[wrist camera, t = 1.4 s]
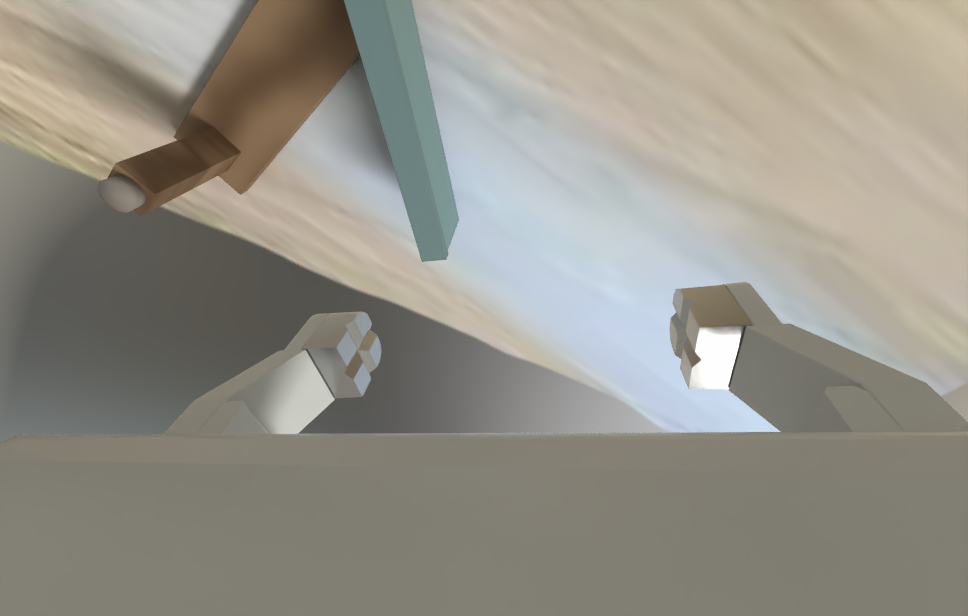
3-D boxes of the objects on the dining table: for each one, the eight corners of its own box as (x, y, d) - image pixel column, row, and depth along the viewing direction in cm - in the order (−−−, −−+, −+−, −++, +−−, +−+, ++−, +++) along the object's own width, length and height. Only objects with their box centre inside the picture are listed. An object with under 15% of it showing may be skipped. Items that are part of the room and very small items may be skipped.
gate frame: (182, 133, 32) (50, 180, 23) (403, -216, 20) (298, -392, 11) (247, 190, 34) (150, 251, 26) (478, -88, 22) (441, -149, 13)
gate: (359, -97, 21) (302, -131, 16) (392, -107, 21) (345, -144, 16) (438, 221, 33) (420, 261, 28) (461, 219, 32) (447, 259, 27)
